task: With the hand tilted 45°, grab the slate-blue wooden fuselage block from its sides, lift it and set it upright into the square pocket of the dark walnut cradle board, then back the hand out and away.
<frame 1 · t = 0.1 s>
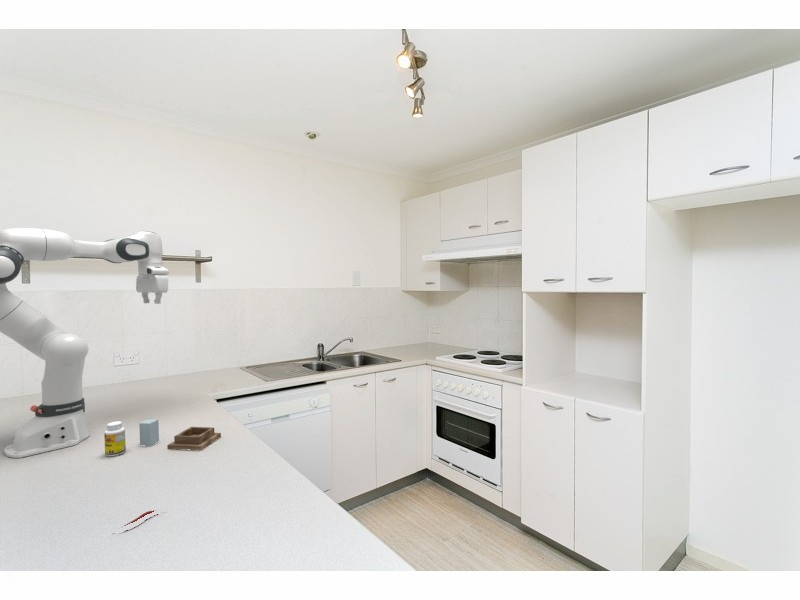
hand: (151, 303, 165), 48 cm above the countertop, tool pointing down, fingers open, 8 cm apart
fuselage block: (149, 443, 138), on the countertop
cradle board: (195, 443, 138), on the countertop
supplement bottle: (115, 454, 130), on the countertop
cayenne pepper: (140, 524, 92), on the countertop
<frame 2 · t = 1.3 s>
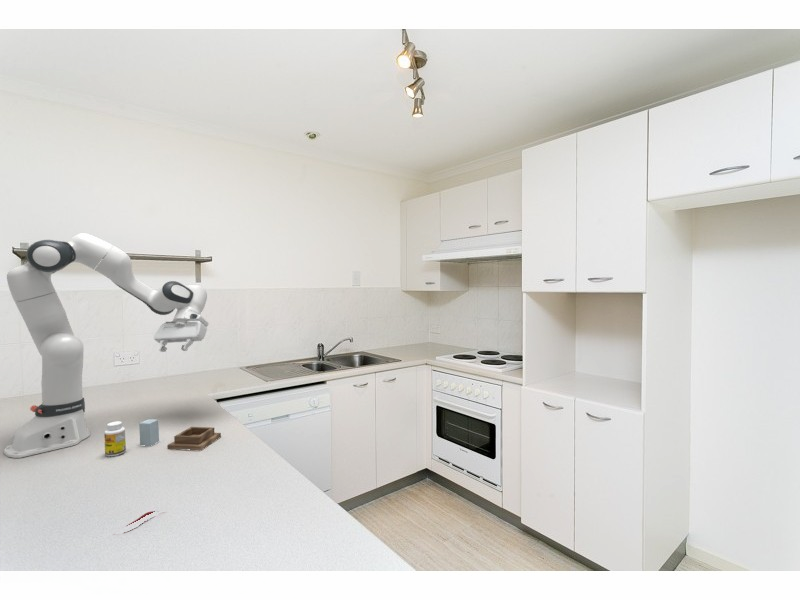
hand: (172, 350, 152), 30 cm above the countertop, tool tilted 40°, fingers open, 8 cm apart
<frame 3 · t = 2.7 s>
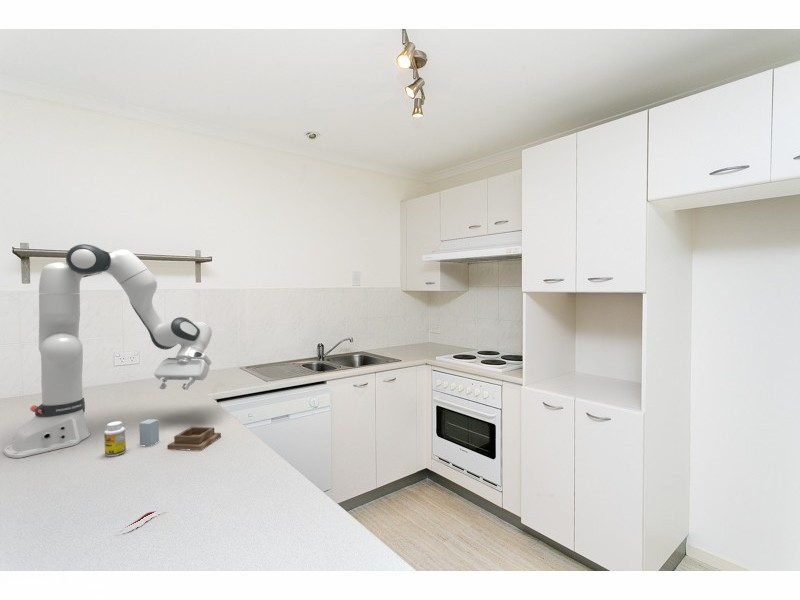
hand: (173, 388, 149), 16 cm above the countertop, tool tilted 45°, fingers open, 8 cm apart
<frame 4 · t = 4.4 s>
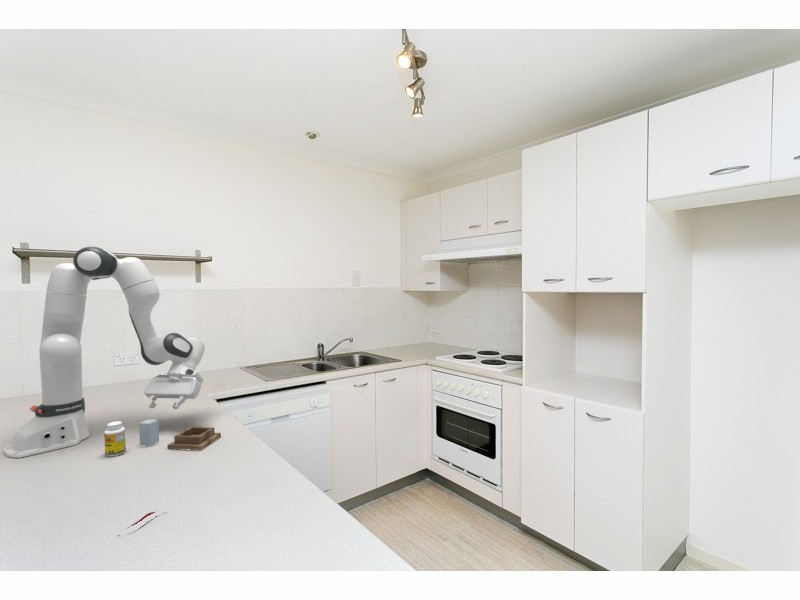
hand: (163, 407, 144), 10 cm above the countertop, tool tilted 45°, fingers open, 8 cm apart
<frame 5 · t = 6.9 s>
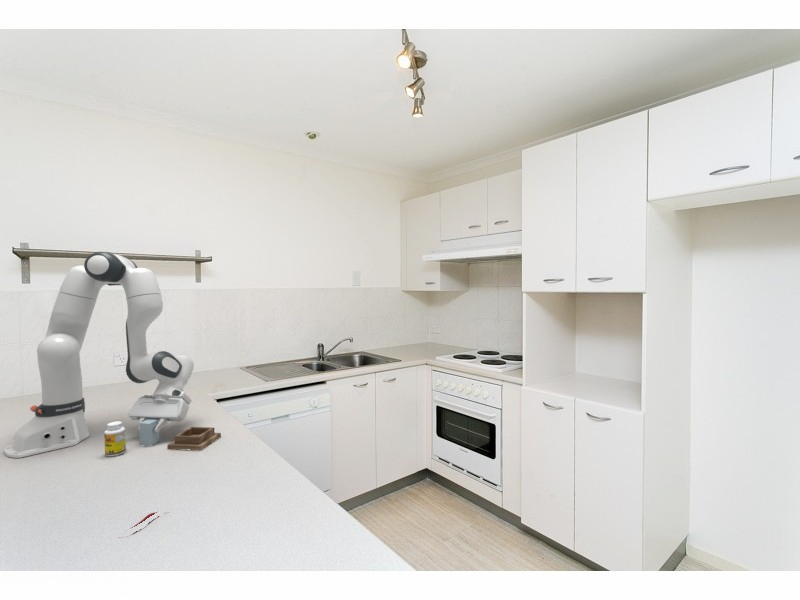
hand: (147, 431, 137), 5 cm above the countertop, tool tilted 45°, fingers closed on fuselage block, 4 cm apart
fuselage block: (149, 443, 138), on the countertop, touching gripper
when the fingers open (8 cm above the countertop, at t = 13.1 s): fuselage block drops 1 cm, resting on cradle board.
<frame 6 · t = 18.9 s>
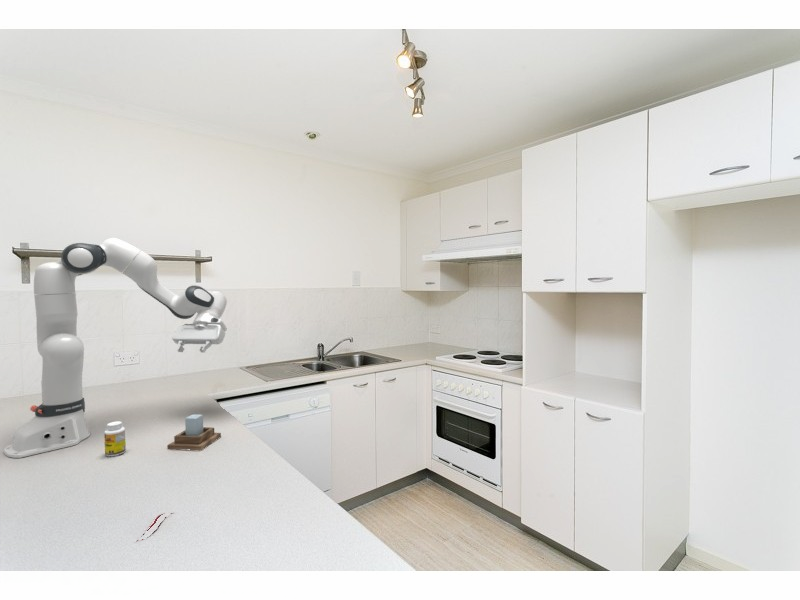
hand: (190, 351, 155), 29 cm above the countertop, tool tilted 45°, fingers open, 8 cm apart
fuselage block: (194, 438, 138), point 1 cm above the countertop, touching cradle board
cayenne pepper: (155, 528, 91), on the countertop
everything else where it was.
at the end: fuselage block 0.1 cm off-centre on the cradle board, point 1.5 cm above the cradle board's base; fuselage block tilted 0°; the gripper is holding nothing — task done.
